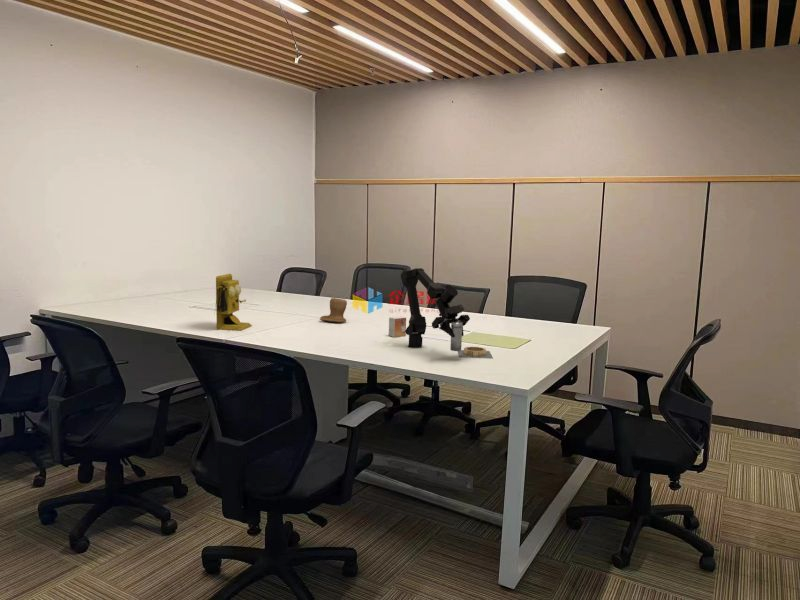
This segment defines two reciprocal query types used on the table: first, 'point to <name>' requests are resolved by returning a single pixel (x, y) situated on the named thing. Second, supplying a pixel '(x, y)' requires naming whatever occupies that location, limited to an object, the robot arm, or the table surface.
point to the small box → (397, 326)
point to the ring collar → (474, 351)
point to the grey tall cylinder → (456, 336)
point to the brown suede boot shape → (336, 311)
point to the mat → (461, 355)
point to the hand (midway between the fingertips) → (458, 336)
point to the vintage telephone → (228, 304)
